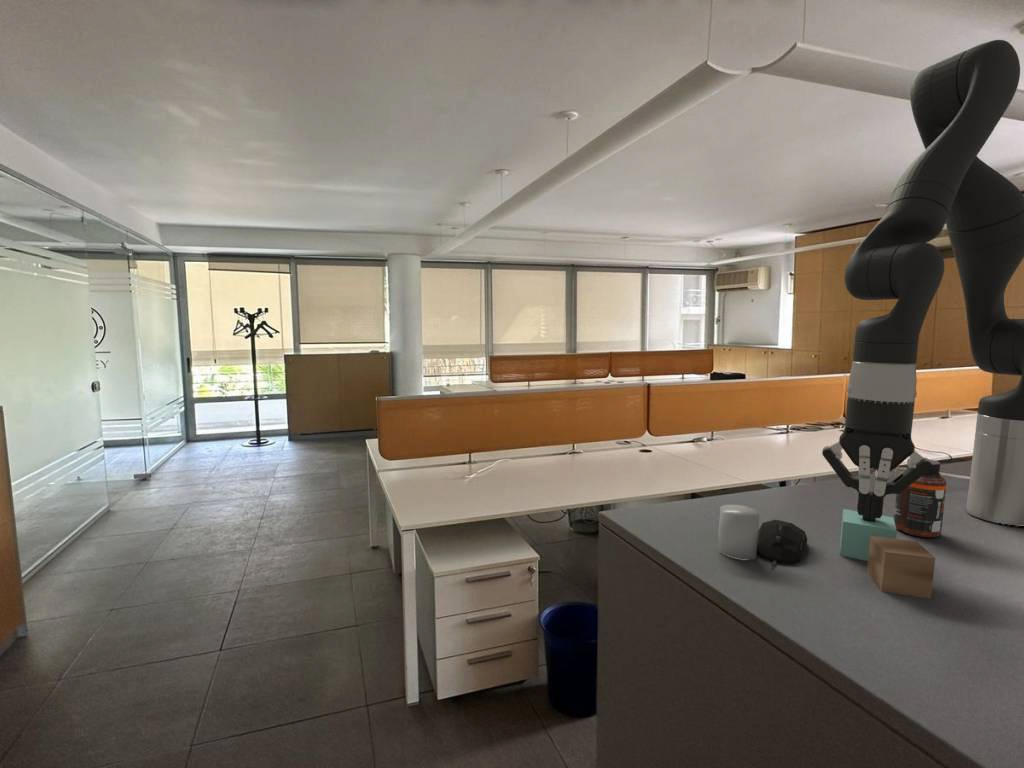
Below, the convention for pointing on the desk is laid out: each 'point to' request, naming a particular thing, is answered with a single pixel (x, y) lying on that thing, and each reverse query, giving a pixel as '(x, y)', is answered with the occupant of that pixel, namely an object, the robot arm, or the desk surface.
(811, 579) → the desk surface
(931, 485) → the supplement bottle
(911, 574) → the walnut block
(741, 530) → the grey cylinder
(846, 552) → the teal block
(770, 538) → the gaming mouse
